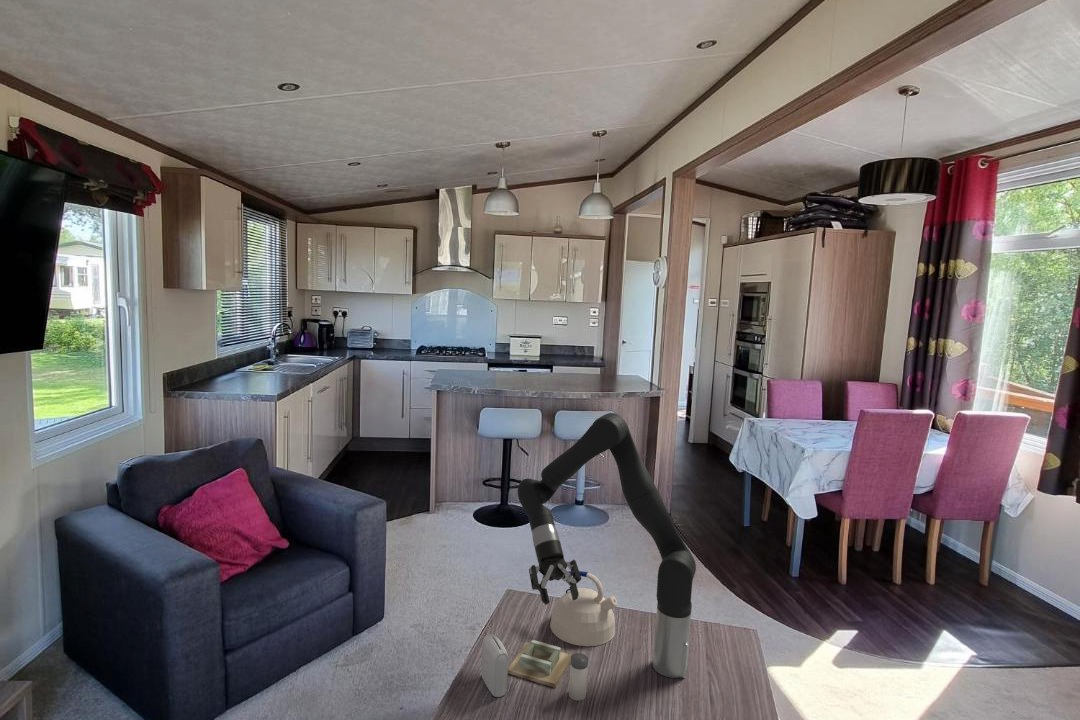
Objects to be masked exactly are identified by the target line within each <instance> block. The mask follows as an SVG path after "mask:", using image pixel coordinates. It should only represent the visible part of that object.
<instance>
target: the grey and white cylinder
mask: <svg viewBox="0 0 1080 720" xmlns="http://www.w3.org/2000/svg"><path fill="white" fill-rule="evenodd" d="M571 655H572V656H571V662H570V664H569V665H570V666H569V667H570V668H569V684H568V696H569V698H570V699H571V700H574V701H578V702H581V701H583V700H585V699H586V696H587V684H588V683H587V682H588V668H589V667H588V666H589V657H588V656H587V655H586V654H584V653H583V652H582V653H581V652H575V653H573V654H571Z"/></svg>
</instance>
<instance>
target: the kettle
mask: <svg viewBox="0 0 1080 720" xmlns="http://www.w3.org/2000/svg"><path fill="white" fill-rule="evenodd" d="M567 571H568V570H567ZM568 572H569V573H570V574H571V576H572V573H571V570H569V571H568ZM579 572H580V575H581V577H584V578H587V579H589V580H591V581H592V583H594V584H595V586H596V590H597V591H595V589H591V588H587V587H586V588H585V587H579V588H578V587H577V589H578V593H579V596H578V598H577V599H576V600H573V599H572V595H571V592H570V588H568V589H566V590H565V593H564V594H563V595H561V597H559V599H557V601H556V603H555V605H554V606H553V609H552V613H551V619H550V625H549V627H550V630H551V632H552V633H553V634H554V635H555V636H556V637H557V639H560V640H561V641H563V642H565V643H568V644H570V645H574V646H578V647H597V646H601V645H604V644H606V643H607V642H610V641H611V640H612V639H613V638H614V636H615V634H616V623H615V621H616V619H615V614H614V611H613V609H614V608H616V607H617V606H618V600H617V598H616V597H615V596H614V595H610V596H609V597H608V598H605V597H604V587H603V584H602V583H601V581H600V579H599V578H597V576H596V575H594V574H593V573H590V572H588V571H582V570H579ZM572 577H573V576H572Z"/></svg>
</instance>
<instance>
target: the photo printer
mask: <svg viewBox="0 0 1080 720" xmlns="http://www.w3.org/2000/svg"><path fill="white" fill-rule="evenodd" d="M481 644H482V647H481V668H480V669H481V670H480V671H481V674H480V675H481V678H482V680H483V683H484V684H485V686H486V687H487V689H488V691H489V692H490V693H491V695H492V696H493V697H496V698H501V697H503V696H505V695H506V693H507V692H508V667H509V655H508V654H509V653H508V651H507V650H506V648H505V645H504V644H503V642H502V641H501V640H500V639H499V637H497V635H495V634H492V633H490V634H486V635H485V636H484V638H483V639H482V643H481Z"/></svg>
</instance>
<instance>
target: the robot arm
mask: <svg viewBox="0 0 1080 720" xmlns="http://www.w3.org/2000/svg"><path fill="white" fill-rule="evenodd" d="M608 450H609V451H610V453H611V455H612V457H613V459H614V461H615V463H616V467H617V470H618V476H619V481H620V486H621V490H622V493H623V496H624V499H625V501H626V503H627V505H628V507H629V510H630V511H631V513H632V515H633V516H634V519H636V521H637V522H638V523H639V524H640V525H641V526H642V528H643V529H645V530H646V532H647V533H649V535H650V536H651V538H652V539H653V542H654V543H655V545H656V547H657V550H658V552H659V555H660V558H661V562H660V563H659V567H658V571H657V584H656V600H657V603H656V604H657V605H656V615H655V616H656V617H655V630H654V643H653V656H652V667H653V670H655V672H657V673H658V674H659V675H661V676H664V677H666V678H670V679H671V678H673V679H677V678H681V679H682V678H683V679H685V678H686V674H687V669H688V664H689V653H690V641H691V639H690V638H691V634H690V630H691V617H692V616H691V615H692V608H693V605H692V592H693V581H694V577H695V575H696V571H697V565H696V564H697V563H696V560H695V559H694V556H693V554H692V553H691V551H690V550H689V548H688V547H687V545H686V543H685V542H684V540H683V539H682V537H681V536H680V533H679V532H678V530H677V529H676V526H675V524H674V522H673V519H672V518H671V515H670V513H669V511H668V508H667V507H666V505H665V503H664V500H663V498H662V496H661V494H660V492H659V490H658V487H656V484H655V483H654V480H653V479H652V477H651V475H650V473H649V471H648V469H647V467H646V465H645V463H644V462H643V460H642V458H641V455H640V454H639V452H638V448H637V447H636V445H635V442H634V439H633V436H632V433H631V431H630V428H629V425H628V424H627V422H626V420H625V419H624V418H623V417H622V416H621V415H620V414H618V413H615V412H608V413H606V414H603V415H602V416H599V417H598V418H596V419H595V420H594V421H593V423H592V424H591V425H590V427H588V429H587V430H586V431H585V432H584V434H582V436H581V437H580V438H579V439H578V441H576V442H575V443H574V444H573V445H572V446H571V447H569V448H568V449H567V450H566V451H564V452H563V453H561V454H560V455H558V456H557V457H556V458H555V459H554V460H552V461H551V462H549V464H547V465H546V466H545V467H544V468H543V469H542V470H541V473H540V474H541V475H540V476H541V477H540V478H541V480H537V479H533V478H524V479H522V480H521V481H520V482H519V484H518V485H517V486H518V487H517V497H518V500H519V503H520V505H521V507H522V509H523V511H524V513H525V515H526V517H528V521H529V522H528V523H529V526H530V530H531V534H532V543H533V547H534V550H535V551H534V552H535V555H536V560H537V563H538V565H535V564H532V565H531V566H530V567H529V569H528V573H529V579H530V584H531V589H532V590H534V591H536V590H537V591H538V592H539V595H540V598H541V602H542V603H543V604H544V605H545V606H547V605H549V604H550V598H549V593H548V590H547V587H546V586H547V584H548V582H551V581H554V580H555V581H560V580H562V581H563V582H565V583H566V584H567V585H568V586H569V588H568V589H570V590H569V591H570V592H571V595H572V599H573V600H576V599H577V598H578V596H579V593H578V589H577V588H578V586H577V584H579V583H580V582H581V580H582V576H581V575H580V572H579V571H580V570H579V567H578V564H577V560H575V559H572V560H571V561H566V560H565V556H564V551H563V549H562V544H561V540H560V536H559V534H558V529H557V528H556V525H555V521H554V517H553V513H552V510H551V509H550V508H548V507H547V506H545V505H544V504H545V503H547V502H549V501H550V500H552V498H553V496H554V495H555V493H556V492H557V490H558V489H559V488H560V487H561V486H562V485H563V484H564V483H566V482H567V481H568V480H570V479H571V478H572V477H573V476H574V475H575V474H576V473H578V472H579V471H580V469H582V467H583V466H585V465H586V464H587V463H588V462H589V461H591V460H592V459H594V458H595V457H597V456H599V455H601V454H602V453H605V452H607V451H608ZM567 568H568V570H569V571H571V573H572V576H571V574H570V573H569V572H568V570H567ZM538 573H540V574H541V575H542V578H541V580H540V583H539V578H538Z"/></svg>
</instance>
